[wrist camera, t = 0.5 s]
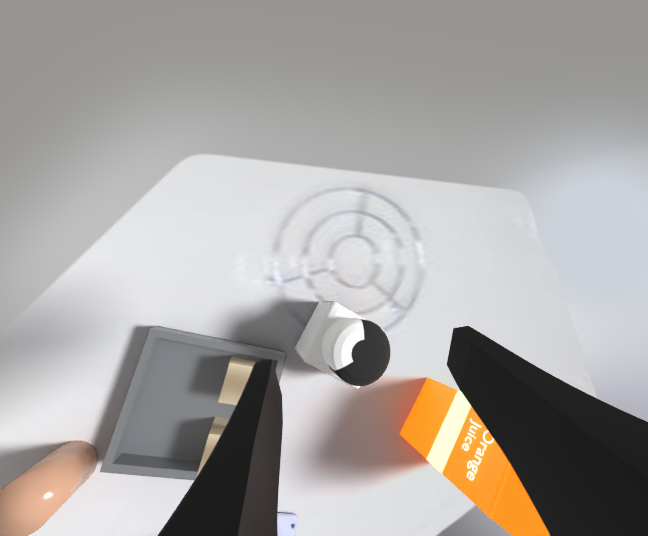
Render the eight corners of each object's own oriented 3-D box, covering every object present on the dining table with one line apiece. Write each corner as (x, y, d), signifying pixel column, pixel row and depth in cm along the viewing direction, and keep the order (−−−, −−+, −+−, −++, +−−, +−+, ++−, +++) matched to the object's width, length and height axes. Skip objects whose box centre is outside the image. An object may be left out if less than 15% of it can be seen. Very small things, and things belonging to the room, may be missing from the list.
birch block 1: (240, 458, 30) (237, 481, 26) (204, 454, 29) (196, 477, 25) (249, 421, 31) (248, 438, 27) (215, 416, 30) (209, 433, 26)
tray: (253, 471, 31) (253, 485, 28) (113, 457, 28) (99, 471, 25) (283, 351, 33) (286, 355, 31) (158, 326, 30) (150, 328, 28)
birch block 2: (256, 395, 31) (256, 408, 27) (222, 389, 30) (218, 402, 27) (265, 361, 32) (266, 369, 28) (232, 355, 31) (229, 362, 27)
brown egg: (88, 489, 27) (41, 540, 21) (38, 485, 26) (-25, 538, 20) (104, 443, 28) (63, 480, 22) (56, 438, 27) (1, 475, 21)
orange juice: (398, 434, 36) (562, 586, 17) (427, 376, 38) (601, 452, 19) (440, 461, 37) (641, 636, 18) (465, 404, 39) (669, 502, 20)
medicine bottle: (362, 325, 36) (410, 336, 25) (339, 373, 35) (379, 409, 23) (319, 300, 35) (349, 300, 24) (293, 349, 34) (311, 373, 22)
